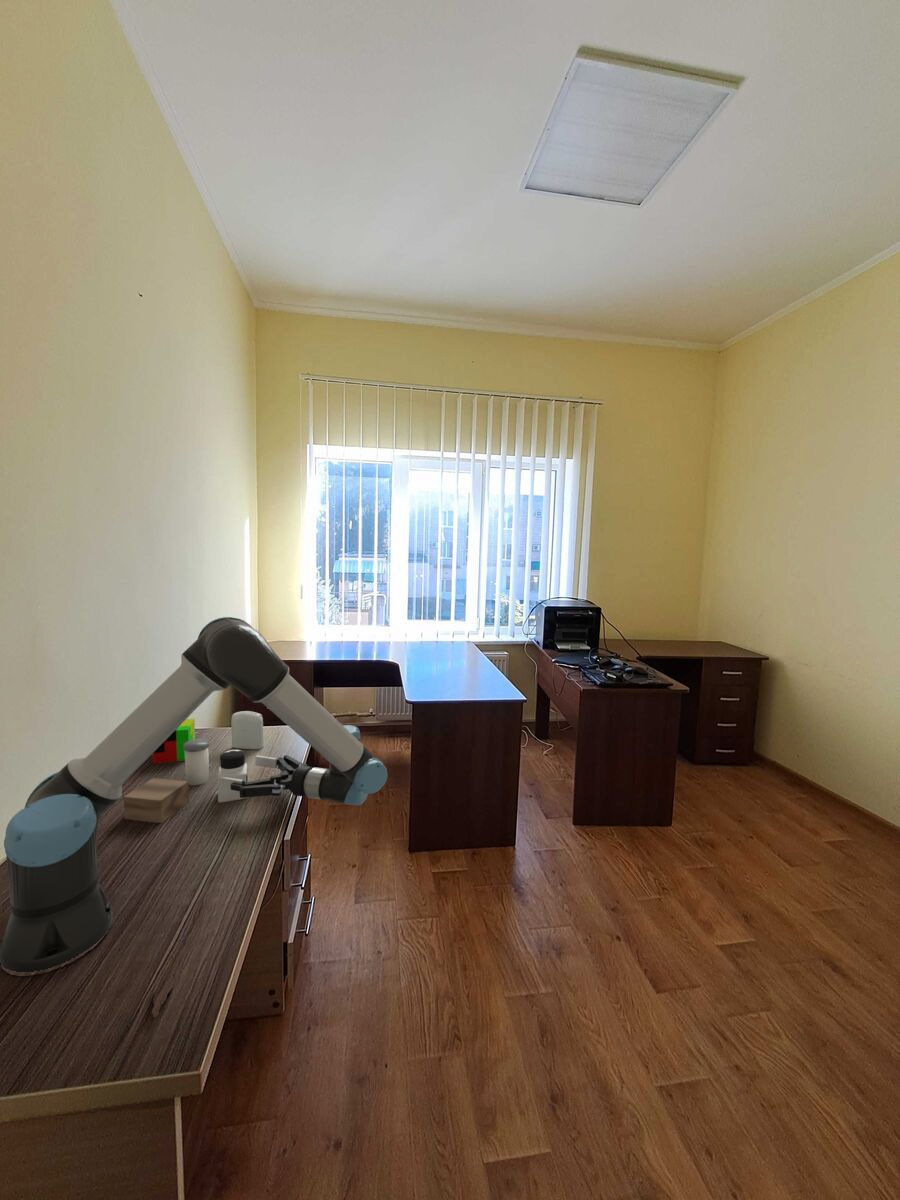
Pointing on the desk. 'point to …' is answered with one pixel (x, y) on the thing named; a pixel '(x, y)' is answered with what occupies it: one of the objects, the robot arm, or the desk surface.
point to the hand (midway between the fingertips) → (240, 770)
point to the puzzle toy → (175, 743)
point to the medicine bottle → (231, 773)
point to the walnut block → (156, 800)
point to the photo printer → (247, 730)
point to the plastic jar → (196, 761)
